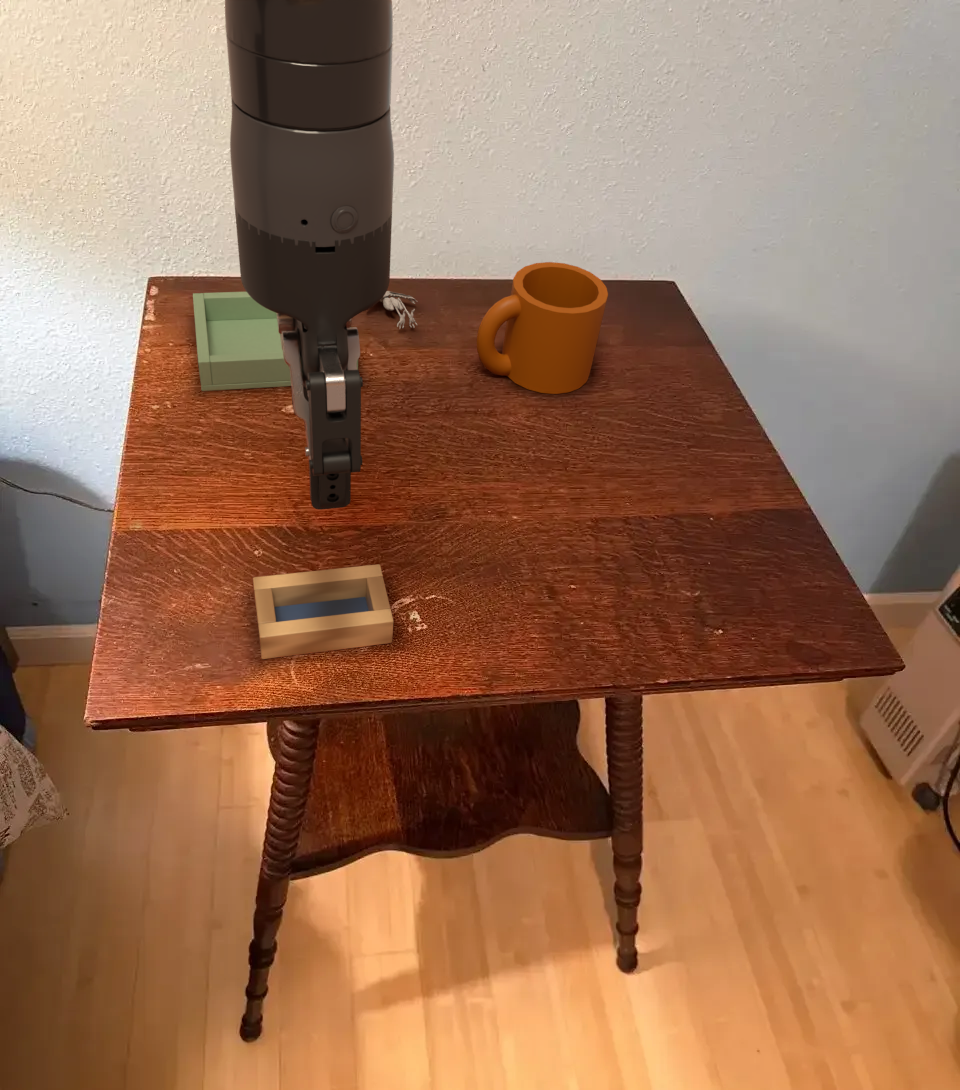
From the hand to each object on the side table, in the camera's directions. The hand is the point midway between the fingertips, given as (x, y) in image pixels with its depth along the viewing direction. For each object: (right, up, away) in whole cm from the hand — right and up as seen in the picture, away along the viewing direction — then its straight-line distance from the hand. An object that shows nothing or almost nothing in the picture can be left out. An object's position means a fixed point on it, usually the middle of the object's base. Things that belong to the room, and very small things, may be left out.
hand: (320, 456), depth 57 cm
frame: (-2, -11, +10) cm, 15 cm away
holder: (-10, +13, +33) cm, 37 cm away
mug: (+14, +12, +36) cm, 40 cm away
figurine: (+3, +18, +40) cm, 44 cm away
